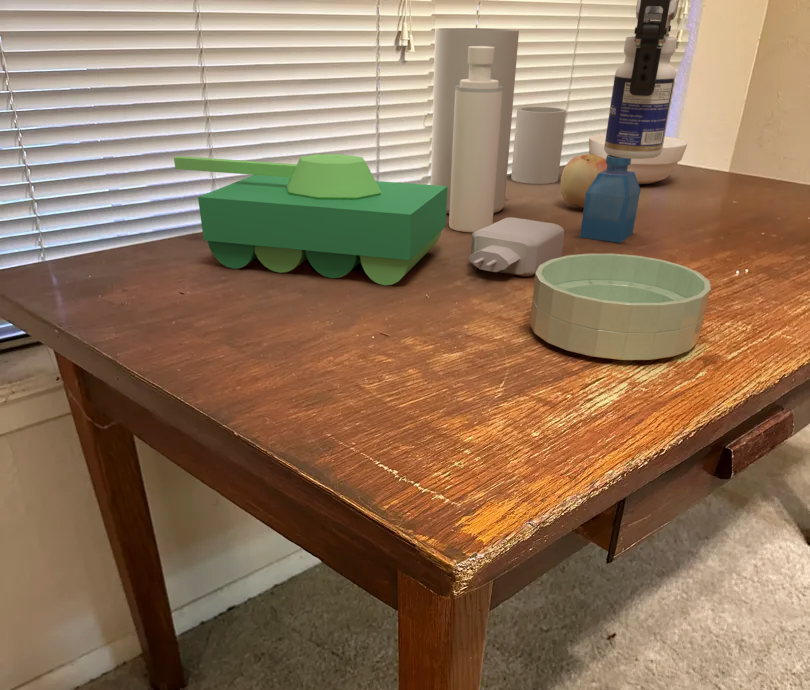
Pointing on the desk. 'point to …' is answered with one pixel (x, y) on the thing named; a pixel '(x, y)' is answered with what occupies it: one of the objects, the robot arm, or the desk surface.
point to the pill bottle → (640, 108)
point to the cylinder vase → (446, 76)
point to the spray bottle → (475, 144)
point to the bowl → (649, 167)
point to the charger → (516, 246)
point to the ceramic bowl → (619, 306)
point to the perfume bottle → (611, 203)
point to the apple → (580, 177)
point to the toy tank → (318, 216)
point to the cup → (538, 144)
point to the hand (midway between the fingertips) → (643, 91)
